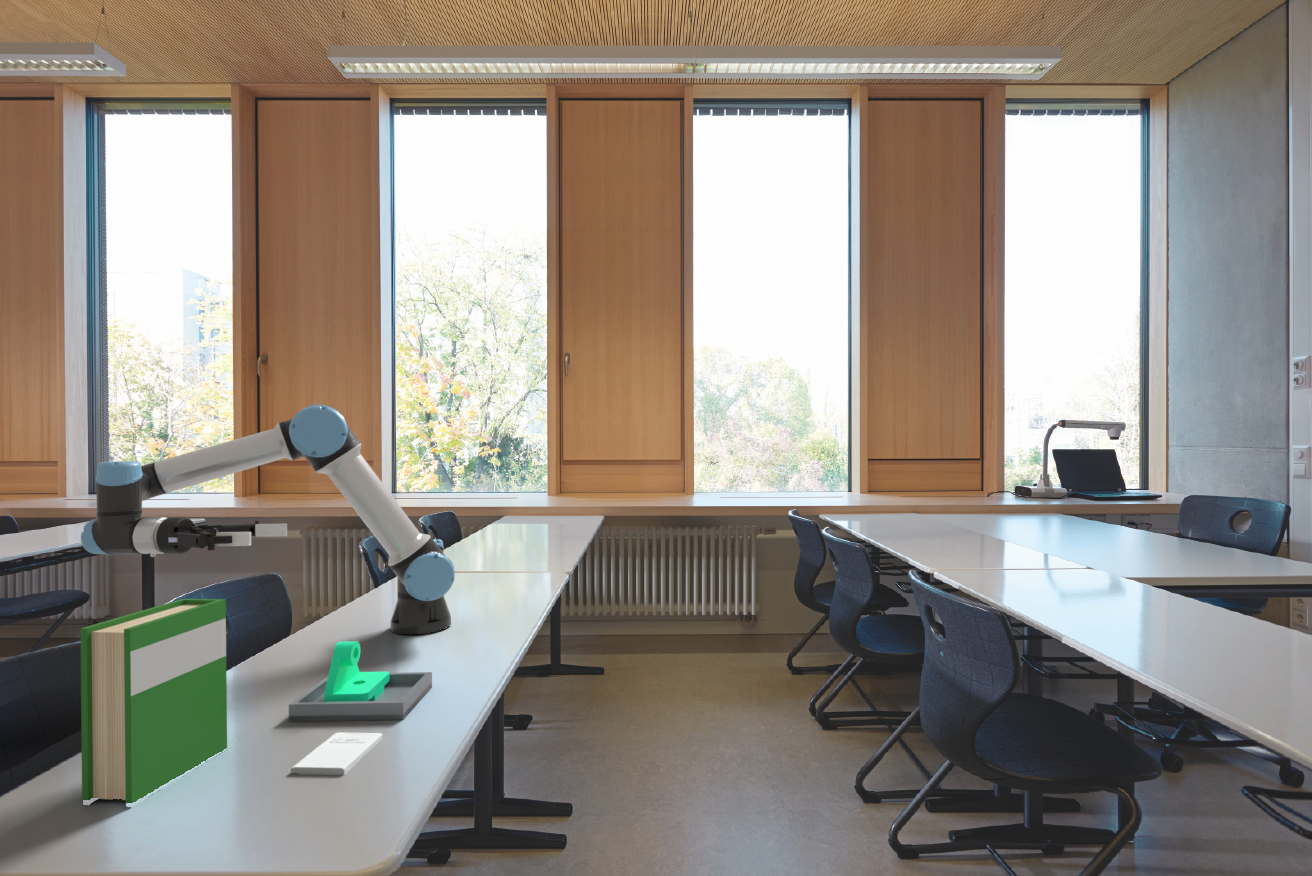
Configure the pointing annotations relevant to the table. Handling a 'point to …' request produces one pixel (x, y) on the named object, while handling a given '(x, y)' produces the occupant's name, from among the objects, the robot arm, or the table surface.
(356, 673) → the green mounting bracket
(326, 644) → the table surface
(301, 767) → the external hard drive
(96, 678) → the hardback book
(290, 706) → the tray
